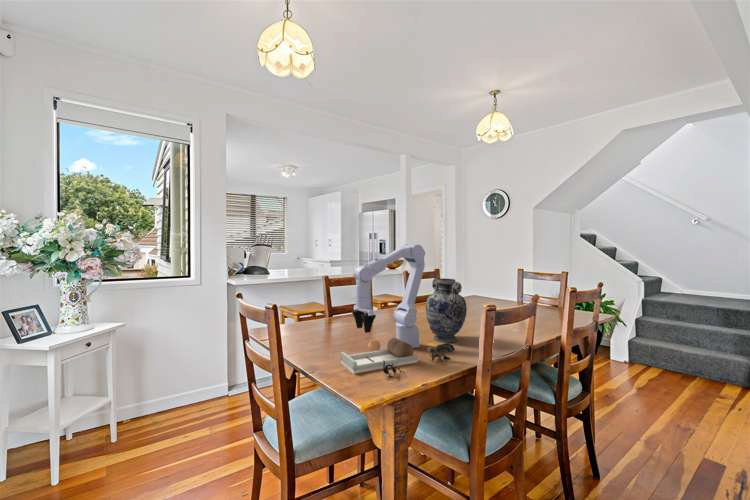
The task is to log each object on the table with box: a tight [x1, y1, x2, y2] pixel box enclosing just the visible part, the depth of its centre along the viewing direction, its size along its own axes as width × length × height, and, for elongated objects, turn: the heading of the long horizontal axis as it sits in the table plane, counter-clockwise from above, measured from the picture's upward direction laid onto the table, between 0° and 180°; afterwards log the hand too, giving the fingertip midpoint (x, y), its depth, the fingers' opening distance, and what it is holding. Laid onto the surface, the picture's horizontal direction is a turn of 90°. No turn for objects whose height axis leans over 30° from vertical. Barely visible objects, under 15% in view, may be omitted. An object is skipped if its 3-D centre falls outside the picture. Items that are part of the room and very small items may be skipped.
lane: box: [340, 348, 418, 375], centre depth 132 cm, size 26×12×4 cm, turn 117°
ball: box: [367, 339, 382, 352], centre depth 145 cm, size 5×5×5 cm
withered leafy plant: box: [427, 342, 455, 363], centre depth 136 cm, size 8×7×9 cm
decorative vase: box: [425, 278, 468, 344], centre depth 164 cm, size 21×19×28 cm
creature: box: [382, 360, 406, 380], centre depth 120 cm, size 8×5×8 cm
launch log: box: [386, 337, 415, 358], centre depth 136 cm, size 6×10×6 cm, turn 27°
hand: (363, 330), depth 143 cm, fingers open, 7 cm apart
